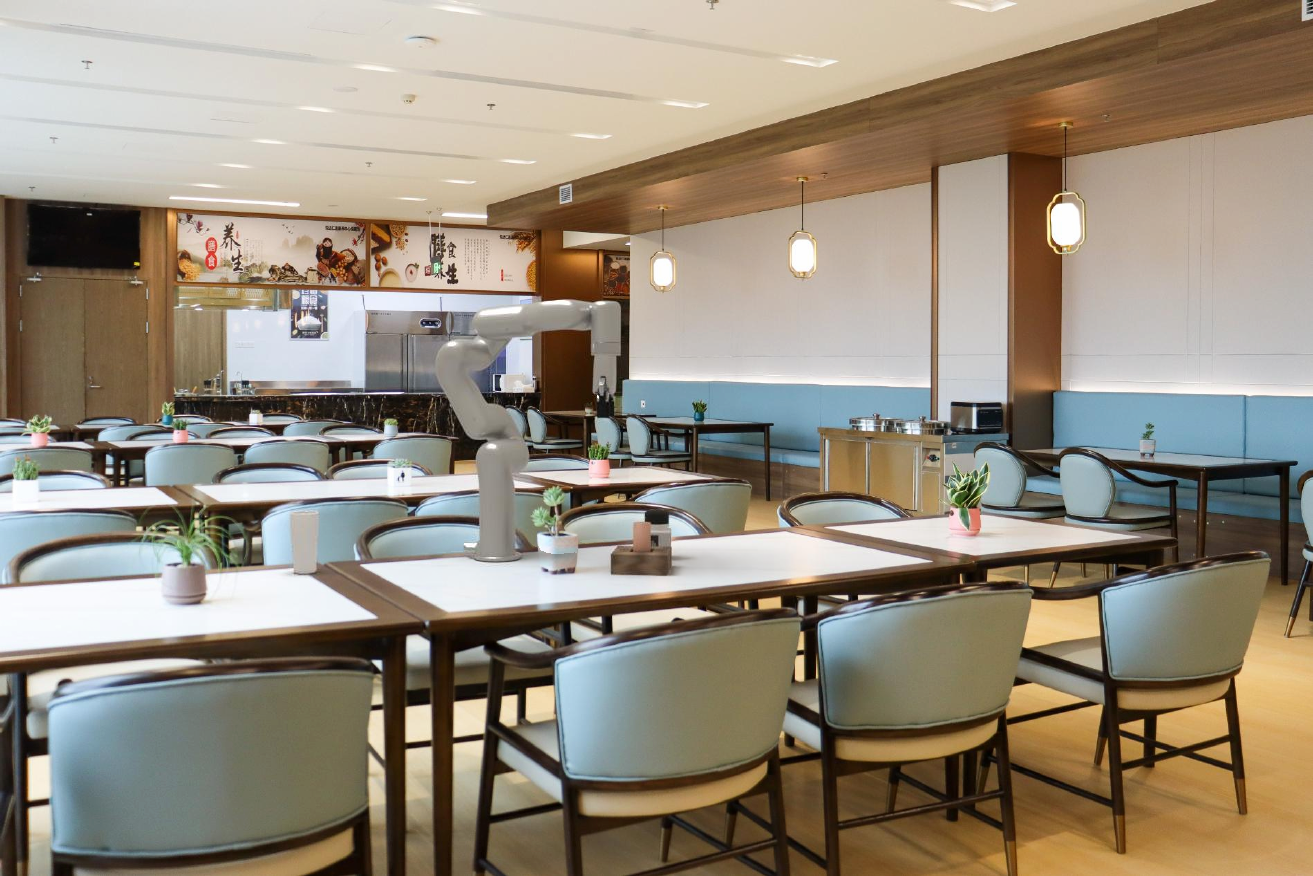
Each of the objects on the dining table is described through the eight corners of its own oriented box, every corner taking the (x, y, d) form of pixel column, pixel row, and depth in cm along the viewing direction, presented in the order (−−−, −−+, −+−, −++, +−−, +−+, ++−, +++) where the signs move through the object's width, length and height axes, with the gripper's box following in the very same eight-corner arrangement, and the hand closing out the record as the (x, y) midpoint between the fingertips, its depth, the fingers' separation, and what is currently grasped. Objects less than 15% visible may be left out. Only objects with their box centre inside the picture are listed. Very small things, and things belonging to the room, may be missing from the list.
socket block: (610, 574, 286) (610, 554, 286) (617, 564, 300) (617, 545, 300) (667, 575, 285) (667, 555, 285) (671, 566, 299) (671, 546, 299)
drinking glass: (311, 575, 282) (310, 514, 281) (285, 574, 283) (284, 513, 282) (324, 571, 288) (323, 511, 288) (299, 569, 290) (298, 510, 289)
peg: (632, 571, 290) (632, 523, 290) (634, 568, 295) (634, 521, 294) (649, 571, 290) (649, 524, 289) (651, 568, 294) (651, 521, 294)
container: (670, 560, 307) (671, 511, 306) (641, 560, 307) (641, 511, 307) (671, 556, 315) (671, 508, 314) (642, 555, 315) (642, 508, 314)
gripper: (596, 350, 304) (595, 415, 305) (586, 349, 287) (586, 418, 288) (624, 350, 303) (624, 415, 304) (616, 349, 286) (616, 418, 287)
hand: (605, 417), depth 296 cm, fingers open, 9 cm apart
